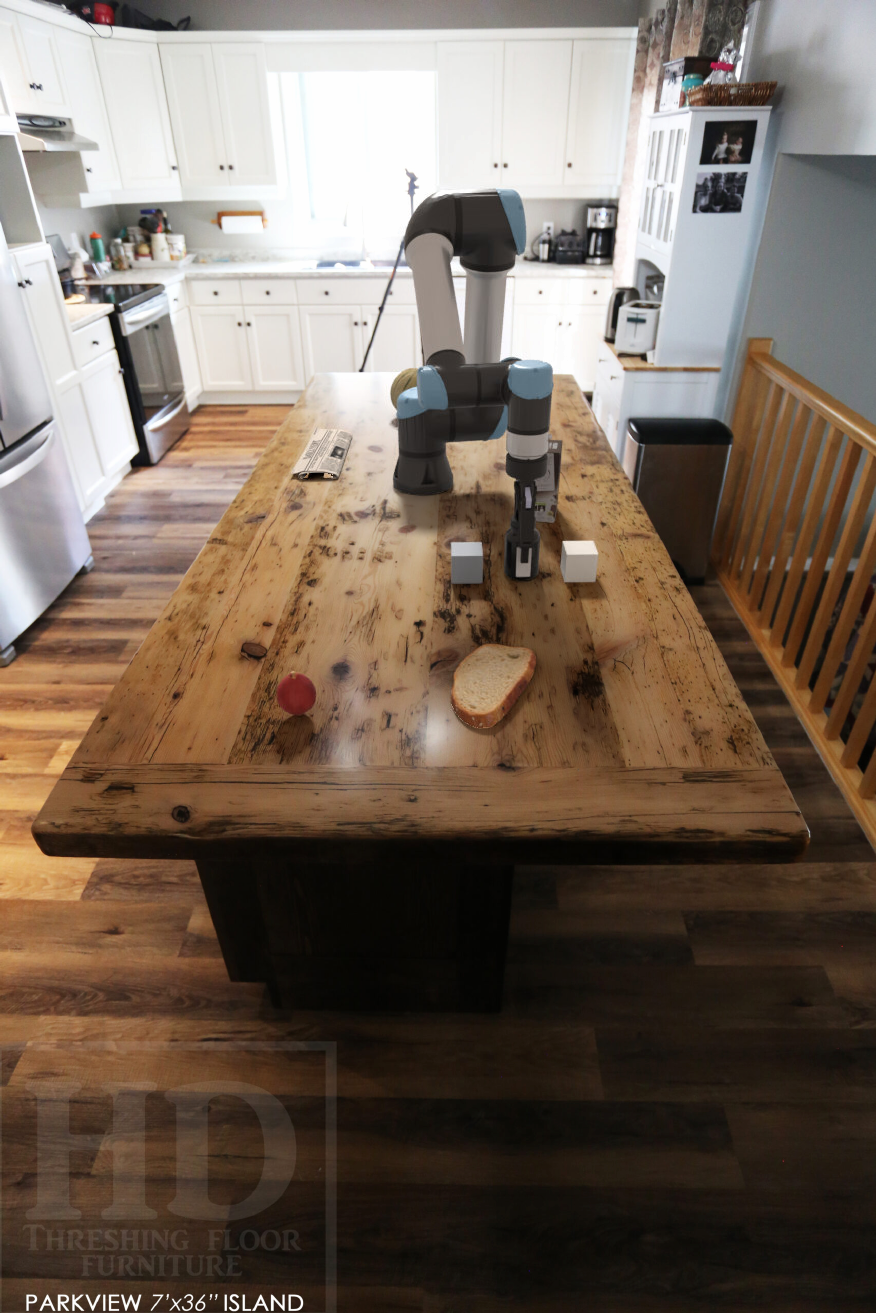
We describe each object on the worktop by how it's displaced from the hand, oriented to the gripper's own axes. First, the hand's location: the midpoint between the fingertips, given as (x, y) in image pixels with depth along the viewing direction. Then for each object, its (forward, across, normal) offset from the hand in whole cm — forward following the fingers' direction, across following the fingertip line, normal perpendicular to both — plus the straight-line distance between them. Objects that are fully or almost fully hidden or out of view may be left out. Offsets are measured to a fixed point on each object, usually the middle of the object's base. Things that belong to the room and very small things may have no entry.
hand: (521, 566), depth 150 cm
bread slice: (+2, -38, +7) cm, 38 cm away
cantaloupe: (+2, +106, +24) cm, 109 cm away
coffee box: (+2, +29, -8) cm, 30 cm away
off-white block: (+2, -1, -11) cm, 11 cm away
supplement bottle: (+2, 0, 0) cm, 2 cm away
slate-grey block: (+2, -1, +11) cm, 11 cm away
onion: (+2, -44, +37) cm, 58 cm away
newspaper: (+2, +71, +48) cm, 86 cm away
